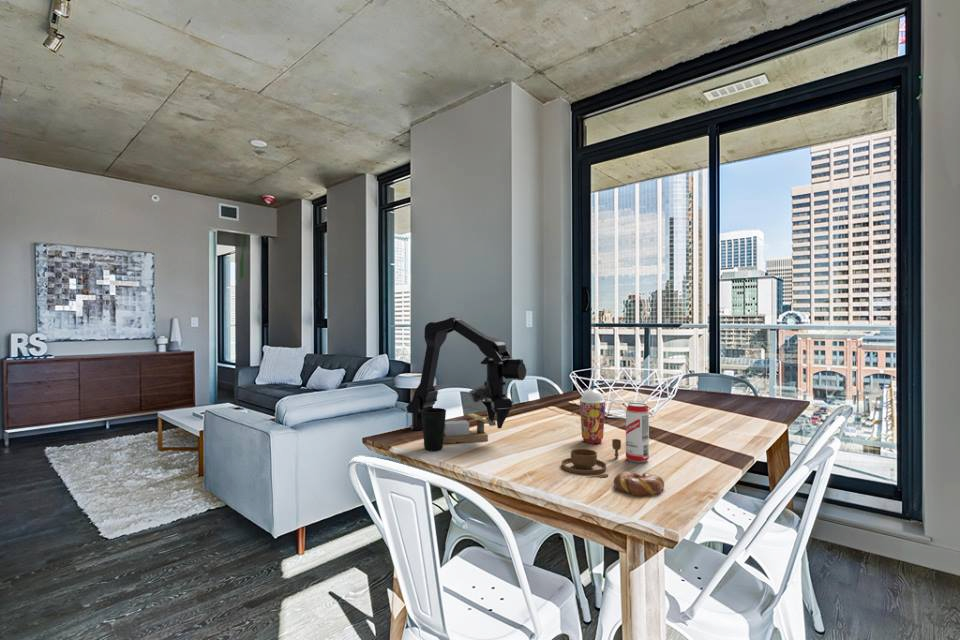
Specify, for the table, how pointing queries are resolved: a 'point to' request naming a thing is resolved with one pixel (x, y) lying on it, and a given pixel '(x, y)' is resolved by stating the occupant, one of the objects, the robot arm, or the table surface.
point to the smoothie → (592, 415)
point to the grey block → (456, 428)
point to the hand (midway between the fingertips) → (495, 425)
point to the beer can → (637, 432)
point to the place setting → (588, 461)
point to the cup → (433, 428)
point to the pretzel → (638, 483)
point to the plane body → (472, 437)
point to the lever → (482, 419)
